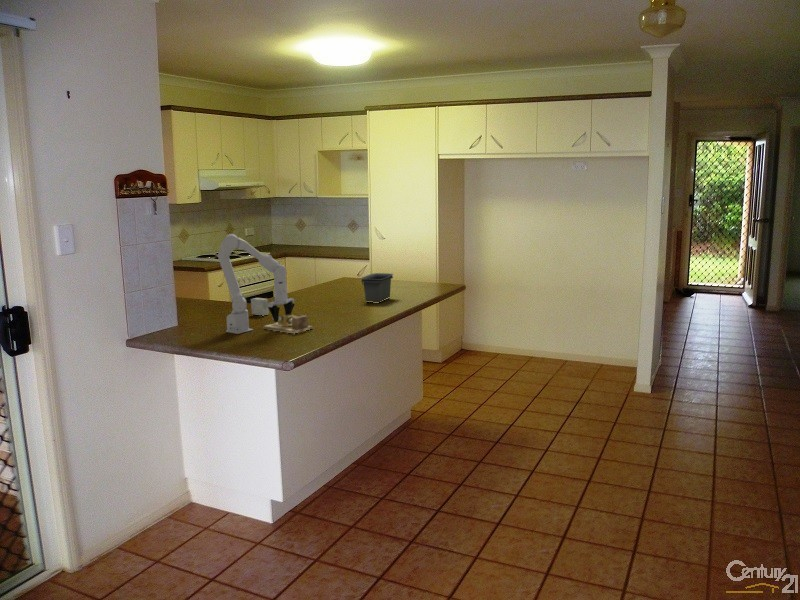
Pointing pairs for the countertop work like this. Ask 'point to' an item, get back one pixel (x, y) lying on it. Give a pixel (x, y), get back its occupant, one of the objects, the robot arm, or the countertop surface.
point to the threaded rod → (288, 319)
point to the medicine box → (259, 306)
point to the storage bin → (377, 286)
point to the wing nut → (285, 320)
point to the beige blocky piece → (297, 325)
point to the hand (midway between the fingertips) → (282, 320)
